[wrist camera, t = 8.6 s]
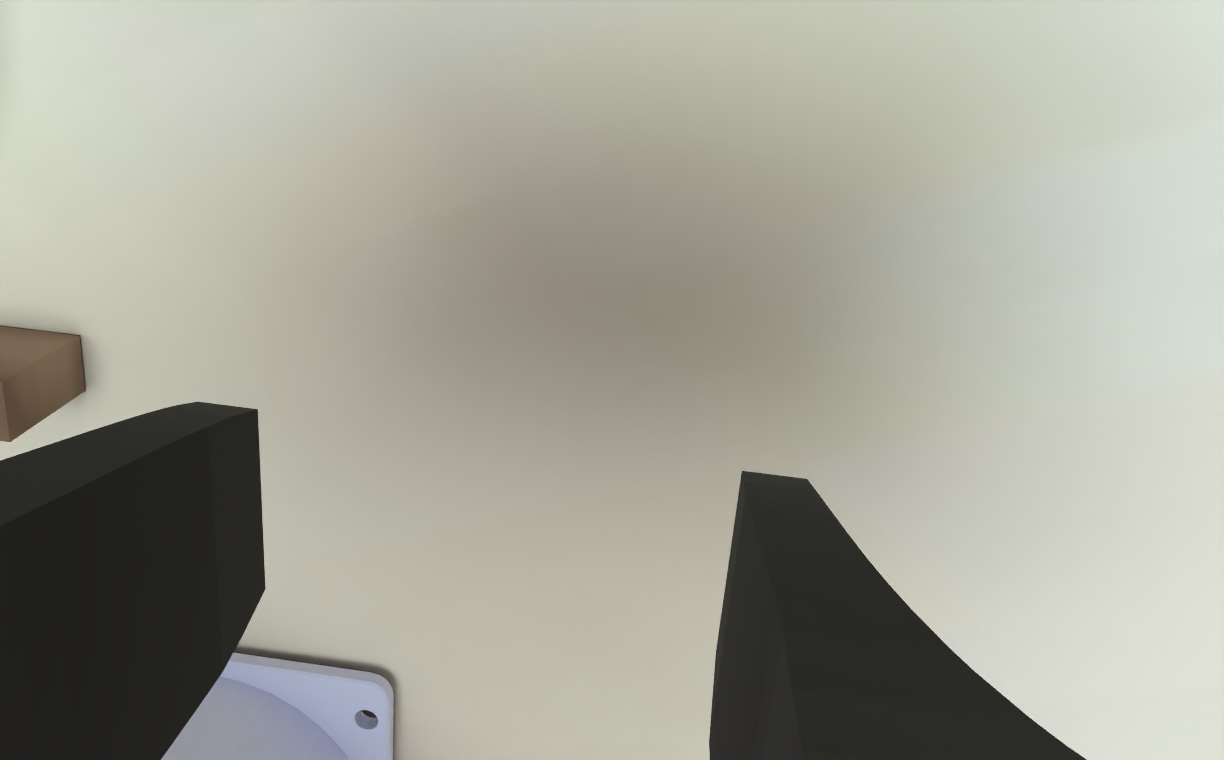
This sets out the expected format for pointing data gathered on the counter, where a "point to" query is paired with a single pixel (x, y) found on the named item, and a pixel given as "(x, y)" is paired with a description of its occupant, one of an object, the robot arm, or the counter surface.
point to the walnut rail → (36, 377)
